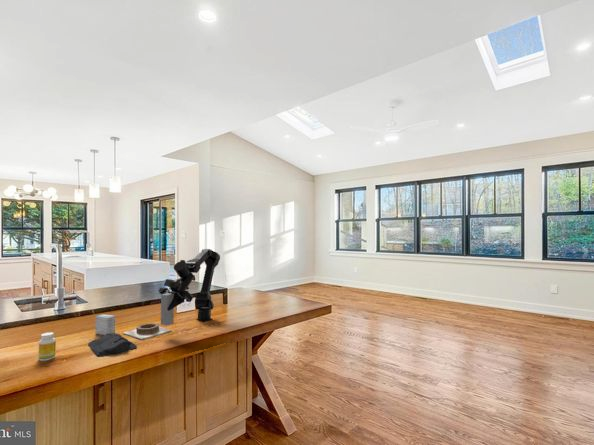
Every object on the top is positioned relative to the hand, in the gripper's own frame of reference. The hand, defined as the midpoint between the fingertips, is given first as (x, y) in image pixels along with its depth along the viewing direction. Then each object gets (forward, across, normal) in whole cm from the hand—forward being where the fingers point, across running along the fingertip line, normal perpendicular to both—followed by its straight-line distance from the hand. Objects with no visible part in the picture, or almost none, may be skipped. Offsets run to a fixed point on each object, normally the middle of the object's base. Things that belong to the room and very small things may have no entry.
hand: (164, 309), depth 153 cm
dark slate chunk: (+23, -11, -3) cm, 26 cm away
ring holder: (+8, -14, +11) cm, 20 cm away
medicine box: (+17, -31, +3) cm, 35 cm away
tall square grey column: (+4, 0, +6) cm, 7 cm away
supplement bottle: (+37, -20, -18) cm, 46 cm away
